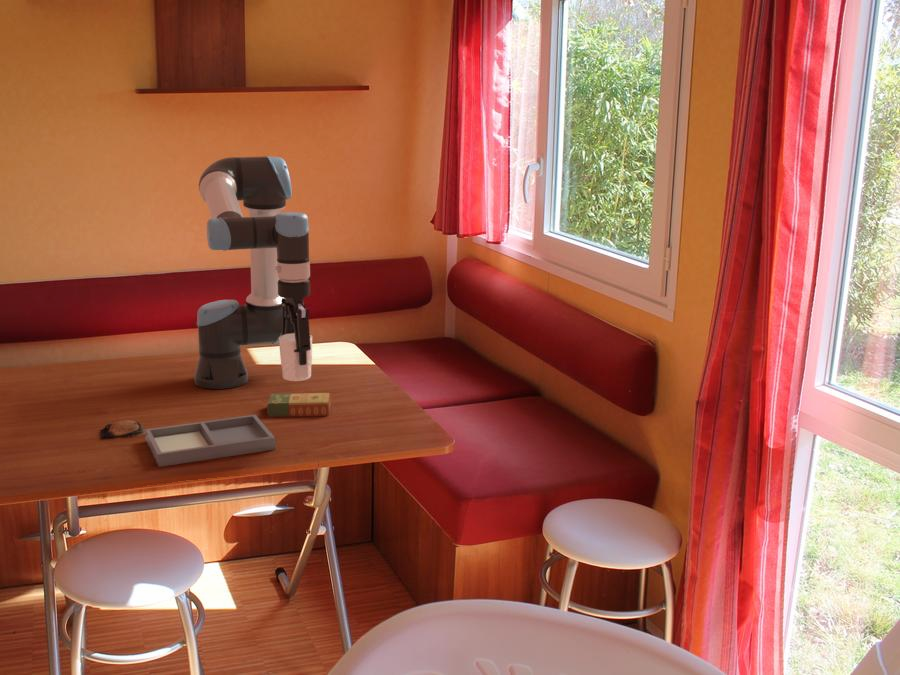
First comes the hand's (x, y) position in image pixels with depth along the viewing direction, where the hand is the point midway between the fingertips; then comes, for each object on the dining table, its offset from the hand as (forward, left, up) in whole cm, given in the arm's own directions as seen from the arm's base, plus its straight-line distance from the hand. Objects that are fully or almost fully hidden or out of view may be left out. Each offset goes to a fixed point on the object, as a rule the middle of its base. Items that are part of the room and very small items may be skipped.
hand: (296, 372), depth 237 cm
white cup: (0, 0, -1) cm, 1 cm away
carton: (-20, +6, -17) cm, 27 cm away
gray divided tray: (-4, -21, -17) cm, 27 cm away
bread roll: (-22, -38, -18) cm, 48 cm away
